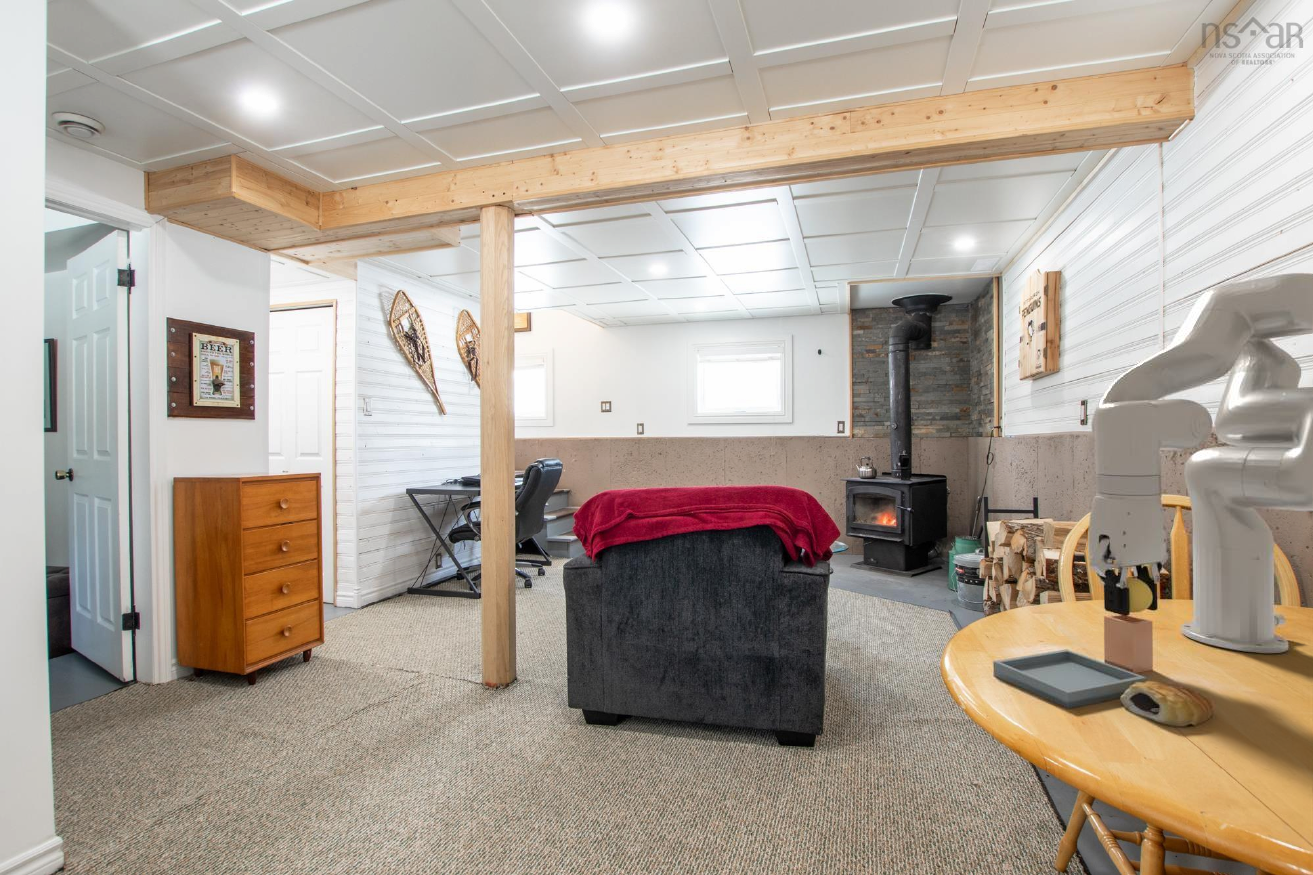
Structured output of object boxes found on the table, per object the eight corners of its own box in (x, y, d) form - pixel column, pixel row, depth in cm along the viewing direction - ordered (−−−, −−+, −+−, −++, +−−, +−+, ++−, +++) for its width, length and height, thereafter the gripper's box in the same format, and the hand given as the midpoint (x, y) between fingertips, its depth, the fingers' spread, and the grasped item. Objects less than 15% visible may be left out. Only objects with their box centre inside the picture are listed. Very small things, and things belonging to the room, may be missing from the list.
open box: (1123, 659, 90) (1123, 613, 90) (1152, 669, 87) (1152, 621, 86) (1104, 663, 89) (1104, 616, 89) (1133, 673, 85) (1132, 624, 85)
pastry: (1171, 698, 78) (1171, 669, 78) (1233, 723, 71) (1233, 691, 71) (1115, 707, 75) (1115, 677, 75) (1173, 733, 69) (1173, 700, 69)
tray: (1066, 662, 89) (1066, 649, 89) (1146, 692, 79) (1146, 677, 79) (993, 675, 85) (993, 661, 85) (1068, 708, 75) (1067, 692, 75)
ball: (1125, 604, 91) (1124, 572, 91) (1161, 614, 86) (1160, 579, 86) (1101, 608, 90) (1100, 575, 90) (1137, 618, 85) (1136, 583, 85)
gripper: (1141, 481, 94) (1143, 596, 94) (1060, 488, 89) (1063, 610, 89) (1196, 484, 87) (1199, 610, 87) (1112, 492, 82) (1115, 626, 82)
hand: (1130, 609), depth 88 cm, fingers closed on ball, 4 cm apart
